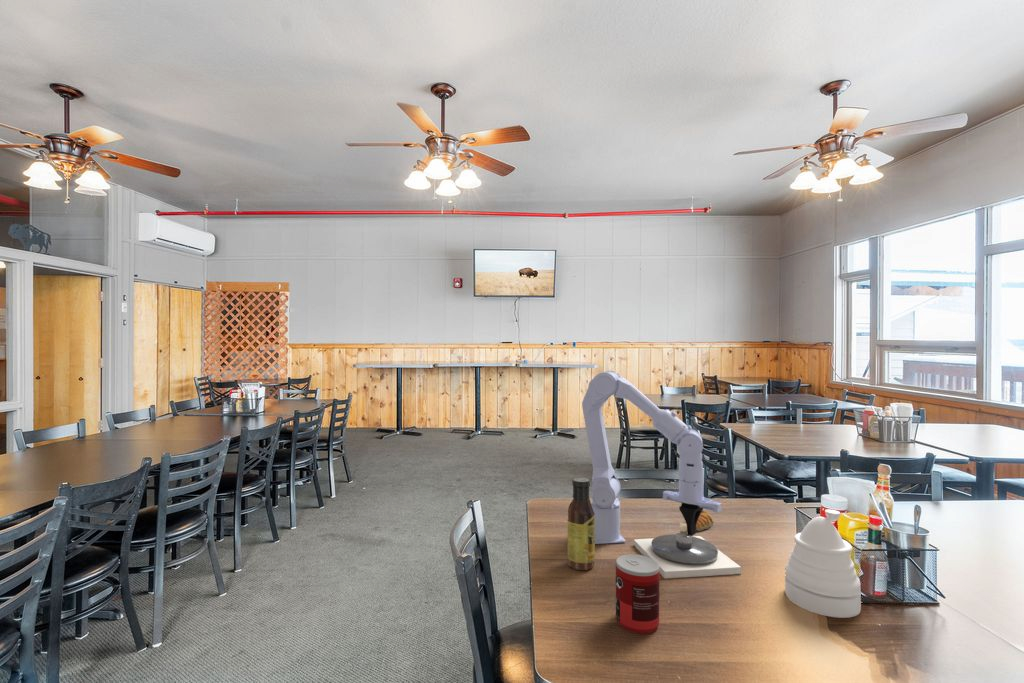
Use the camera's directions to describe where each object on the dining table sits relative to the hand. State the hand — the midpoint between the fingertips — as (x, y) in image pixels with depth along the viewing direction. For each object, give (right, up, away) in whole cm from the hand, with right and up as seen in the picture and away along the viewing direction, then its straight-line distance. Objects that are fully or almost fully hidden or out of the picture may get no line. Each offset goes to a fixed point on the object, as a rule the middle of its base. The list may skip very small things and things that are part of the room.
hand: (691, 534), depth 122 cm
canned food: (-22, -4, -32) cm, 39 cm away
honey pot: (+18, -4, -24) cm, 30 cm away
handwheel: (-4, -2, -5) cm, 6 cm away
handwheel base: (-4, -4, -5) cm, 7 cm away
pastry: (+8, -5, +17) cm, 19 cm away
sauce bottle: (-29, -4, -8) cm, 30 cm away
